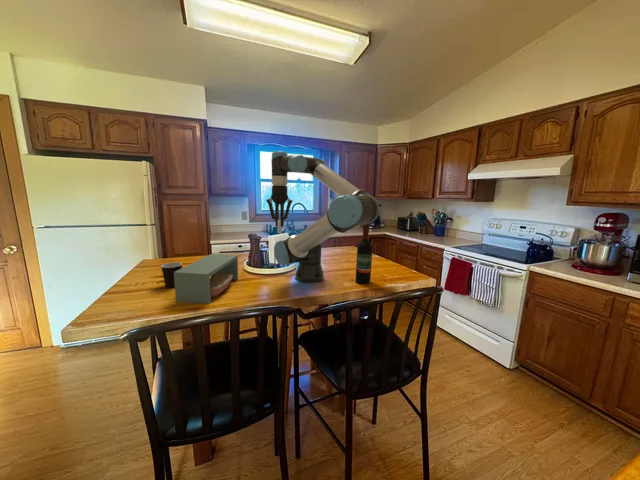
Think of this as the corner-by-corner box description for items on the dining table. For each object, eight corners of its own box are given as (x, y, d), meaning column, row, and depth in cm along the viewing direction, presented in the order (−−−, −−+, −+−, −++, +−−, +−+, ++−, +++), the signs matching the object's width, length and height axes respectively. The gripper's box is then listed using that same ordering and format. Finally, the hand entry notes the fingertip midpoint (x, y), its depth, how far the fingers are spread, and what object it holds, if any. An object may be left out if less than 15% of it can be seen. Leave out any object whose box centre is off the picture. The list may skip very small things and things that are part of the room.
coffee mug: (174, 289, 123) (173, 268, 121) (158, 287, 124) (156, 266, 123) (191, 281, 134) (190, 261, 132) (176, 279, 136) (174, 260, 134)
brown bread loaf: (217, 281, 135) (216, 272, 134) (236, 282, 135) (236, 272, 134) (196, 300, 112) (195, 289, 111) (219, 301, 112) (219, 290, 111)
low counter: (238, 278, 139) (237, 255, 137) (209, 303, 109) (207, 274, 107) (212, 277, 140) (211, 253, 138) (175, 301, 110) (173, 272, 108)
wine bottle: (371, 281, 141) (375, 224, 136) (368, 285, 135) (371, 226, 129) (357, 279, 144) (361, 223, 139) (353, 283, 138) (356, 224, 132)
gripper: (294, 185, 134) (293, 232, 139) (268, 184, 135) (268, 231, 140) (291, 185, 127) (290, 234, 131) (264, 184, 128) (264, 233, 132)
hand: (279, 233), depth 135 cm, fingers closed
